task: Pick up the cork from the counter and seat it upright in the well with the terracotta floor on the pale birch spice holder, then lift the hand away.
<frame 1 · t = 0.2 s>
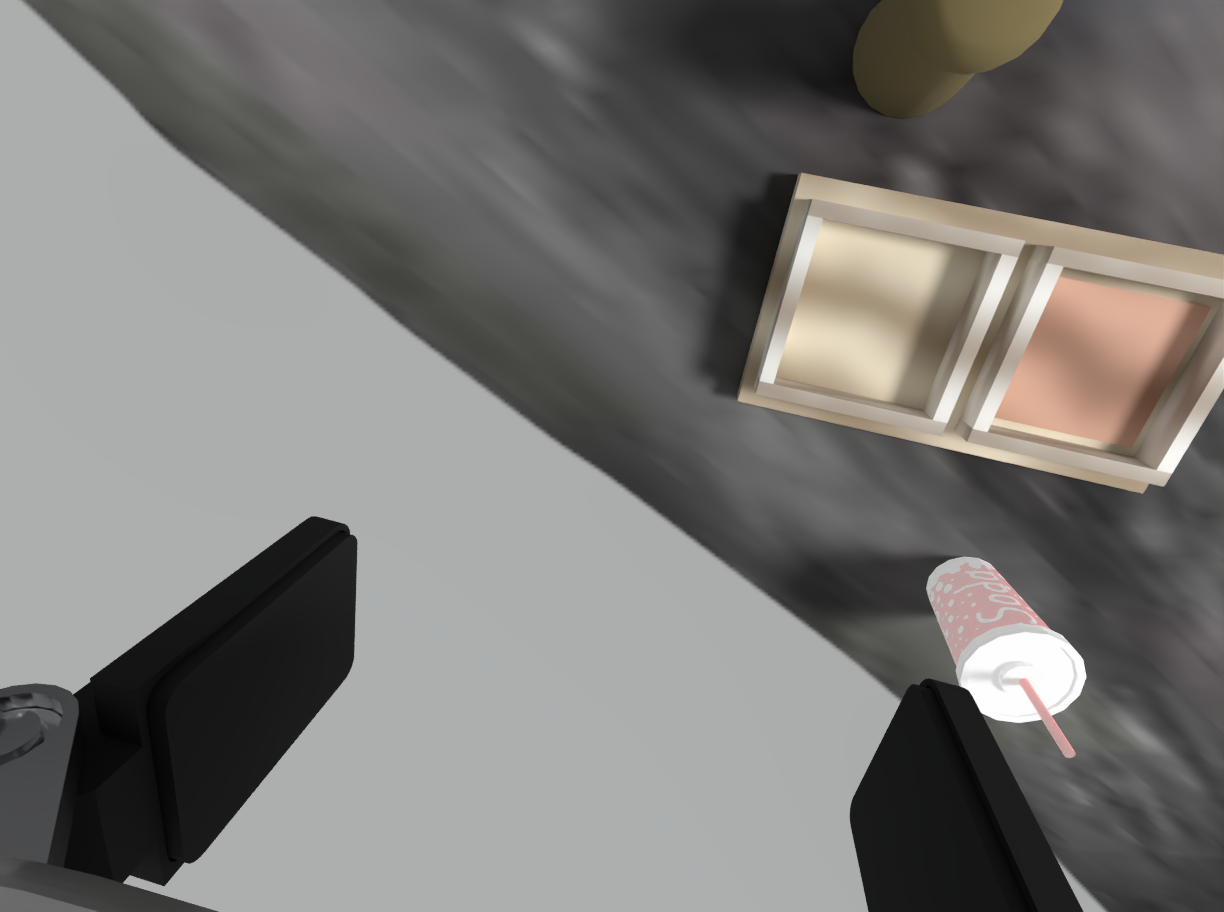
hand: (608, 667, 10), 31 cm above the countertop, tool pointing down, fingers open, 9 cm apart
cork: (913, 52, 31), on the countertop
spice holder: (970, 335, 36), on the countertop
beverage cup: (961, 584, 42), on the countertop
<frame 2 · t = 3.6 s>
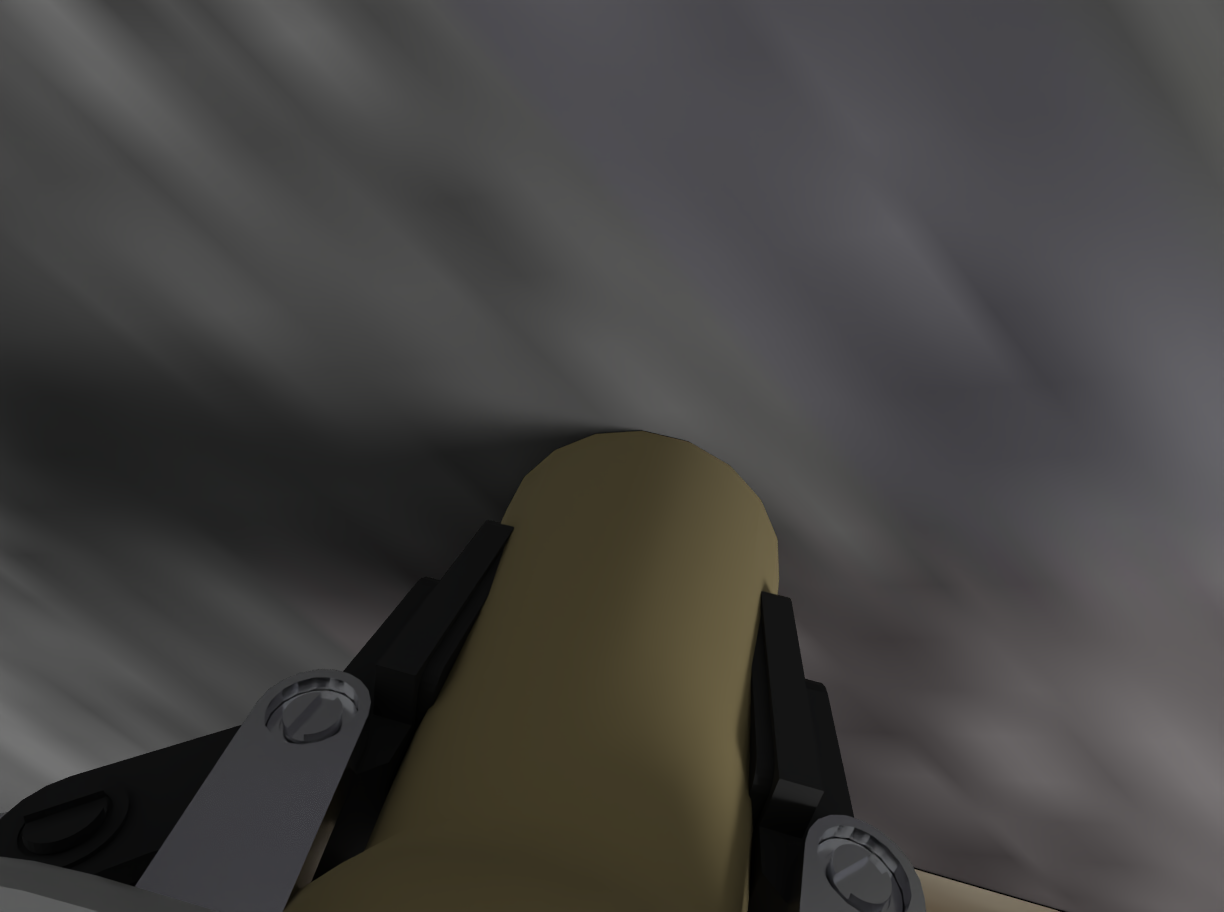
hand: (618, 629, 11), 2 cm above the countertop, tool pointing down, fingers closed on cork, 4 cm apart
cork: (636, 557, 13), on the countertop, touching gripper
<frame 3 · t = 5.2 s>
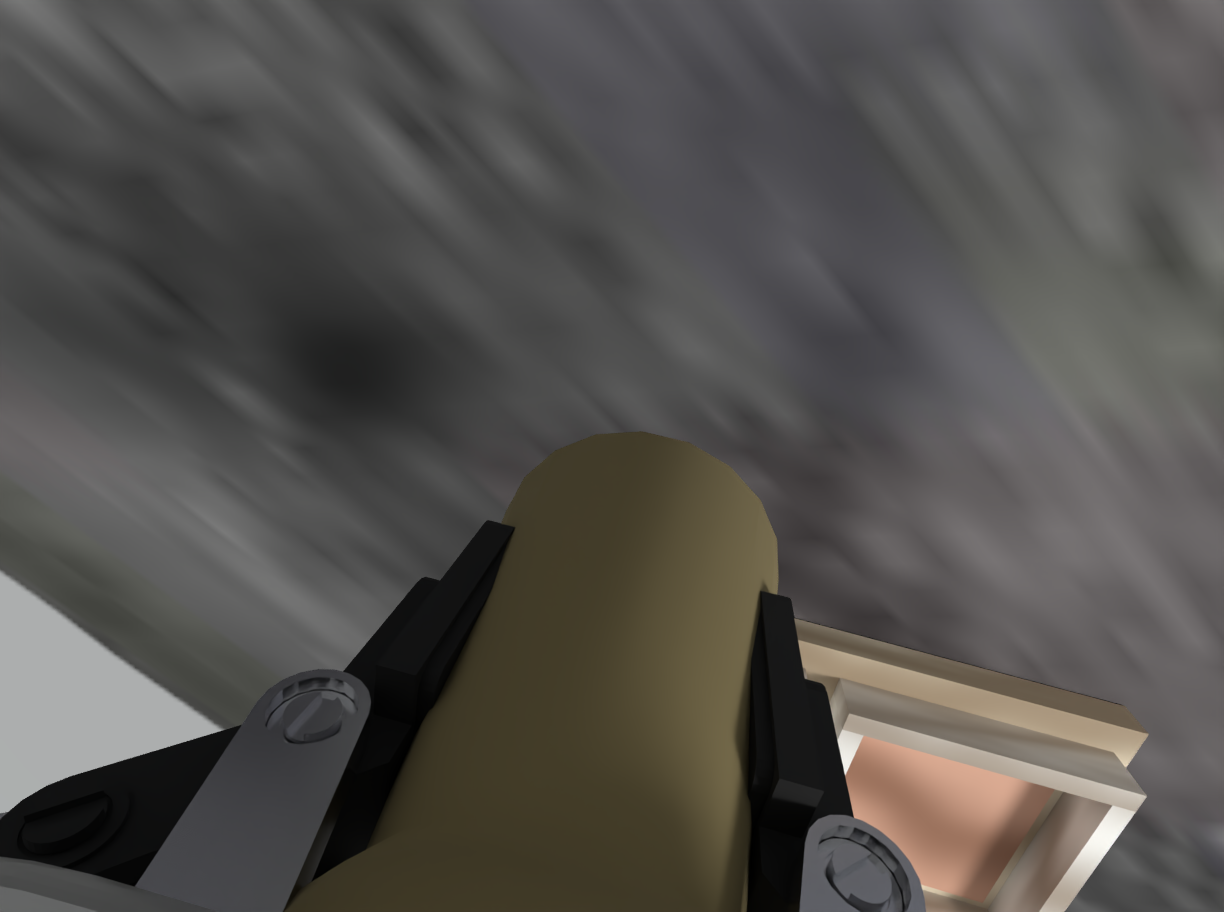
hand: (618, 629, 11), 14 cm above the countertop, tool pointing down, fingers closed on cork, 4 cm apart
cork: (636, 558, 13), point 11 cm above the countertop, touching gripper
spice holder: (780, 741, 28), on the countertop
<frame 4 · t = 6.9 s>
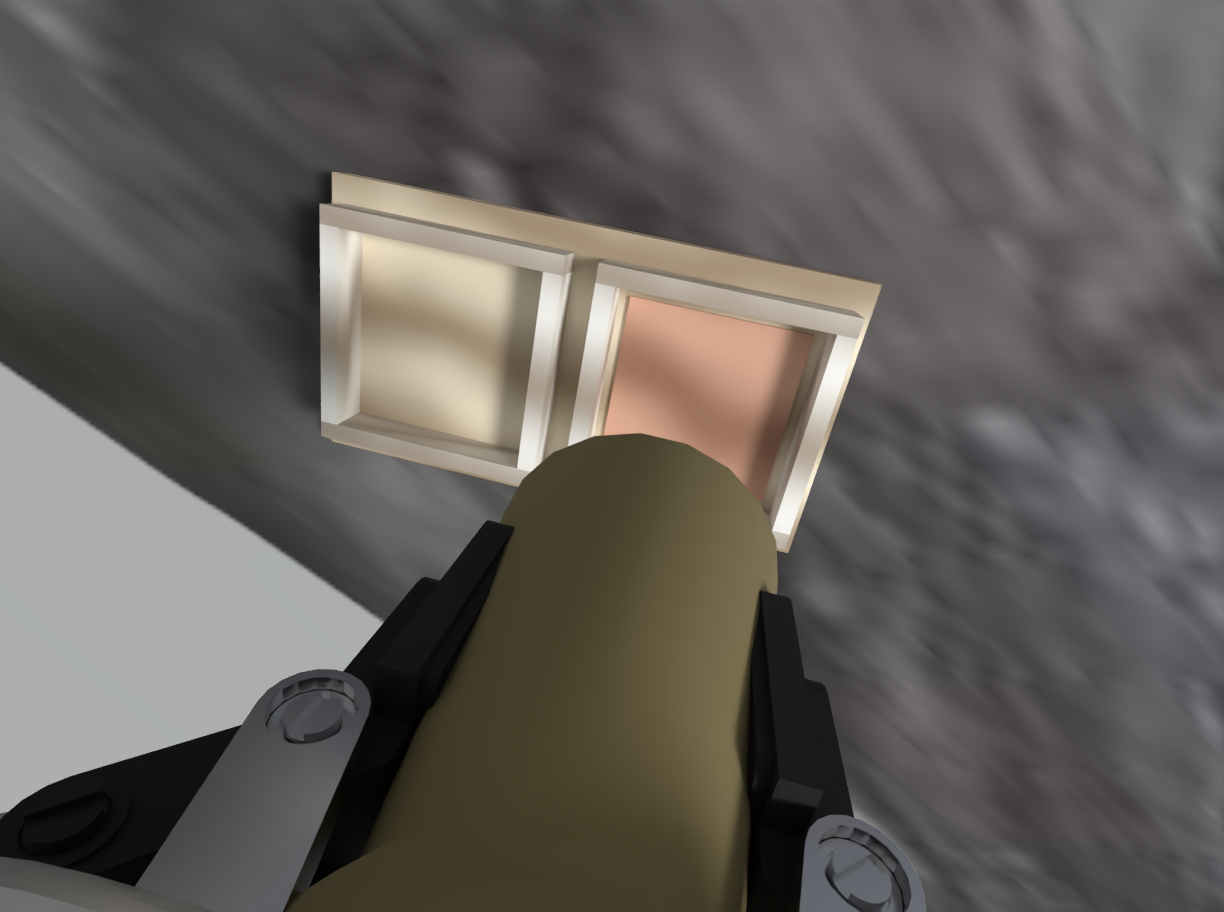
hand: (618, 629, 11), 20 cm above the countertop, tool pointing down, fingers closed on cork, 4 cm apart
cork: (635, 560, 13), point 17 cm above the countertop, touching gripper
spice holder: (579, 365, 30), on the countertop
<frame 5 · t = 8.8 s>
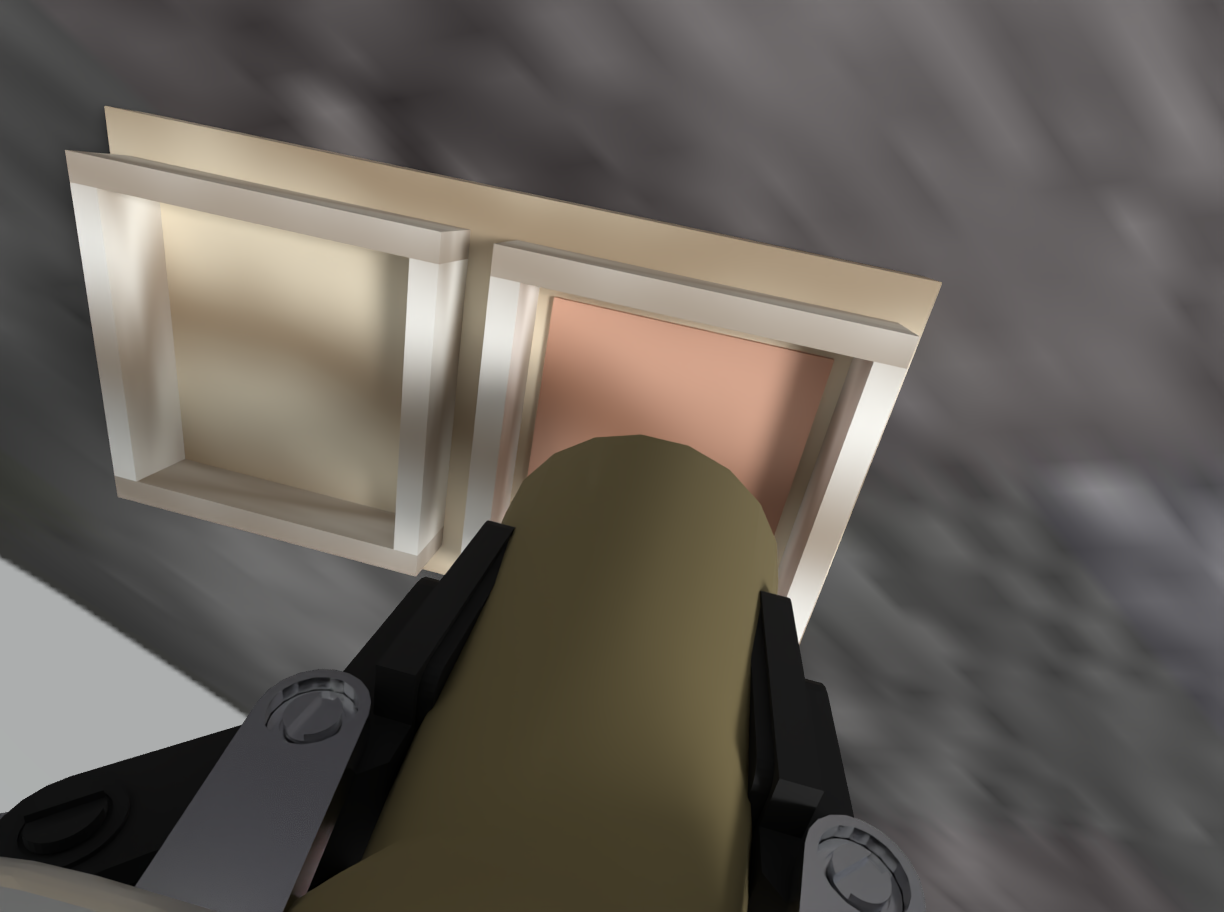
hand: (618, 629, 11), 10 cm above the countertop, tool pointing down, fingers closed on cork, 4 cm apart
cork: (635, 561, 13), point 8 cm above the countertop, touching gripper
spice holder: (492, 396, 21), on the countertop
when the fingers open (5 cm above the countertop, at t = 10.1 s): cork drops 1 cm, resting on spice holder.
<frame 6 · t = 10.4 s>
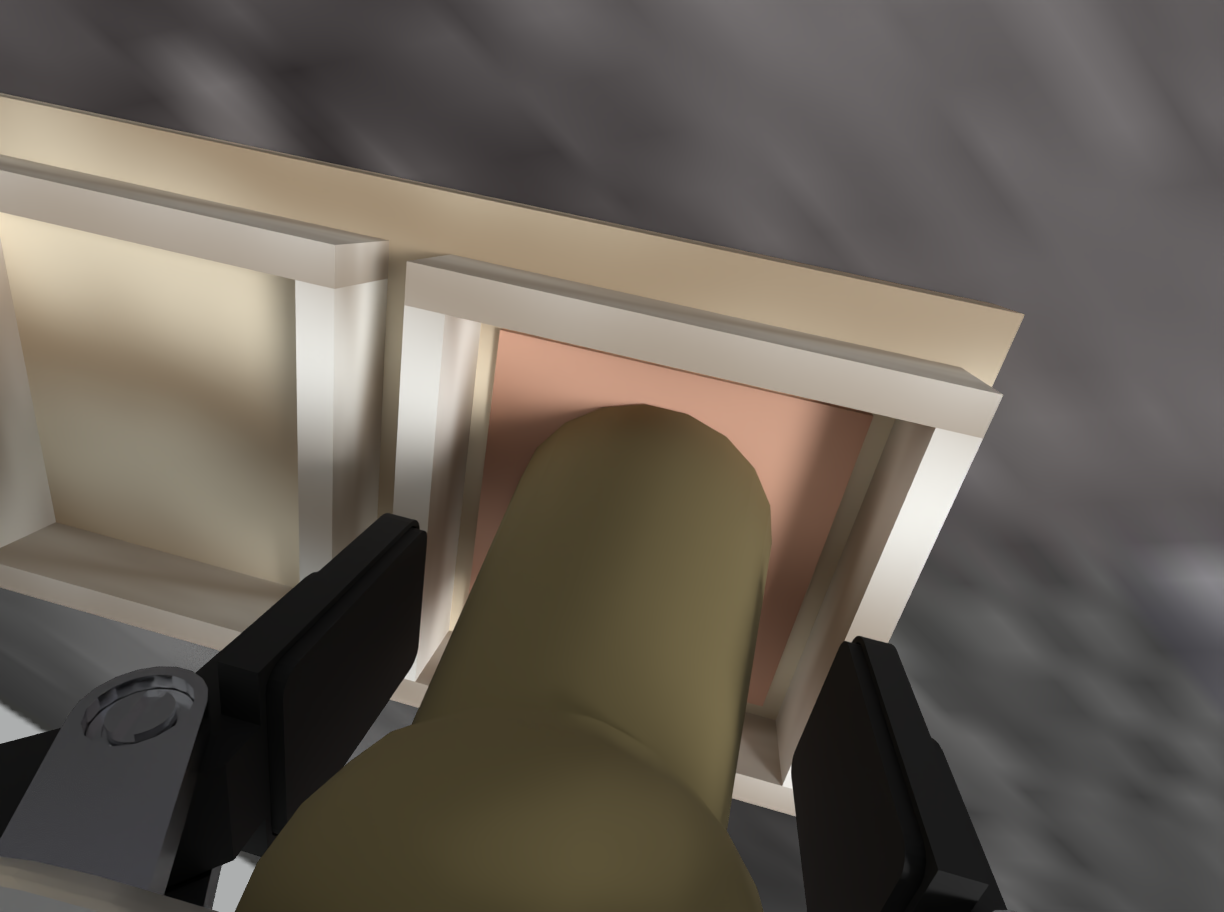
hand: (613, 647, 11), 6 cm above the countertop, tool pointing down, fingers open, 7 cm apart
cork: (640, 524, 14), point 2 cm above the countertop, touching spice holder
spice holder: (432, 448, 16), on the countertop
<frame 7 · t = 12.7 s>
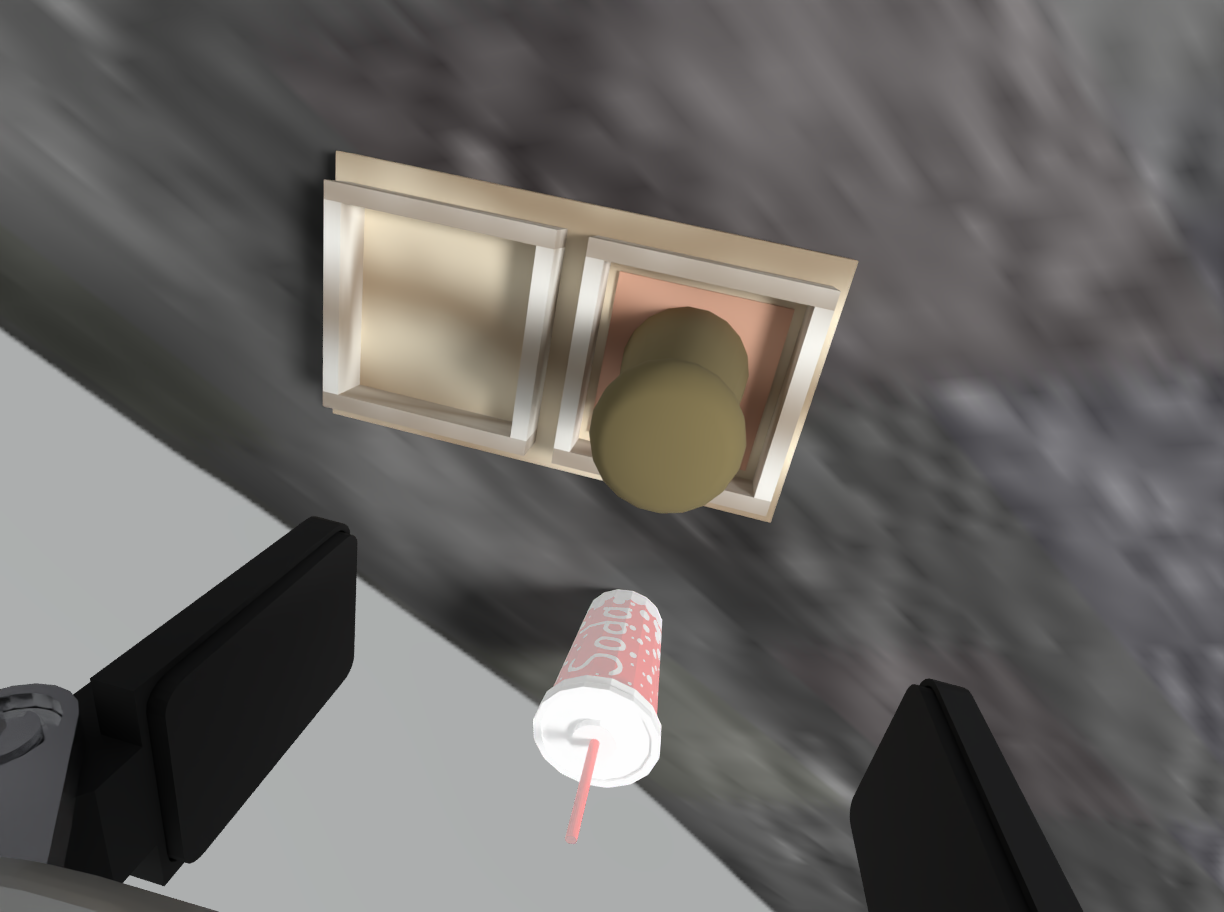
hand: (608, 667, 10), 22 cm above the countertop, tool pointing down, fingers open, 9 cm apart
cork: (684, 370, 29), point 2 cm above the countertop, touching spice holder
spice holder: (571, 340, 31), on the countertop
beverage cup: (624, 619, 37), on the countertop
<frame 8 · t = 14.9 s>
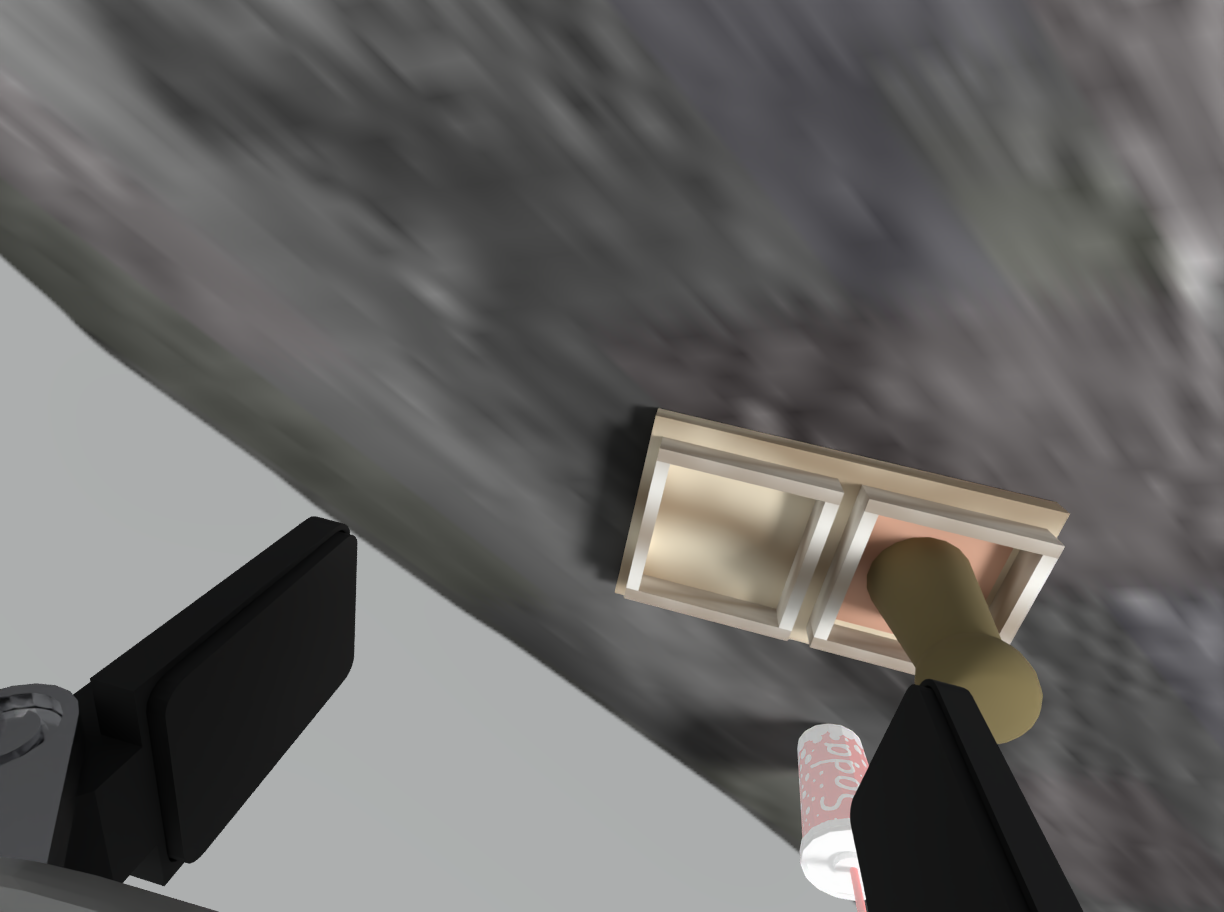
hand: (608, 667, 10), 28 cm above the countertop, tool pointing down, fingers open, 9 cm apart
cork: (917, 578, 38), point 2 cm above the countertop, touching spice holder
spice holder: (817, 544, 40), on the countertop
beverage cup: (829, 745, 46), on the countertop
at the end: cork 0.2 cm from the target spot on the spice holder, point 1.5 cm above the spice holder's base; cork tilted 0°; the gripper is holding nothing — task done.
